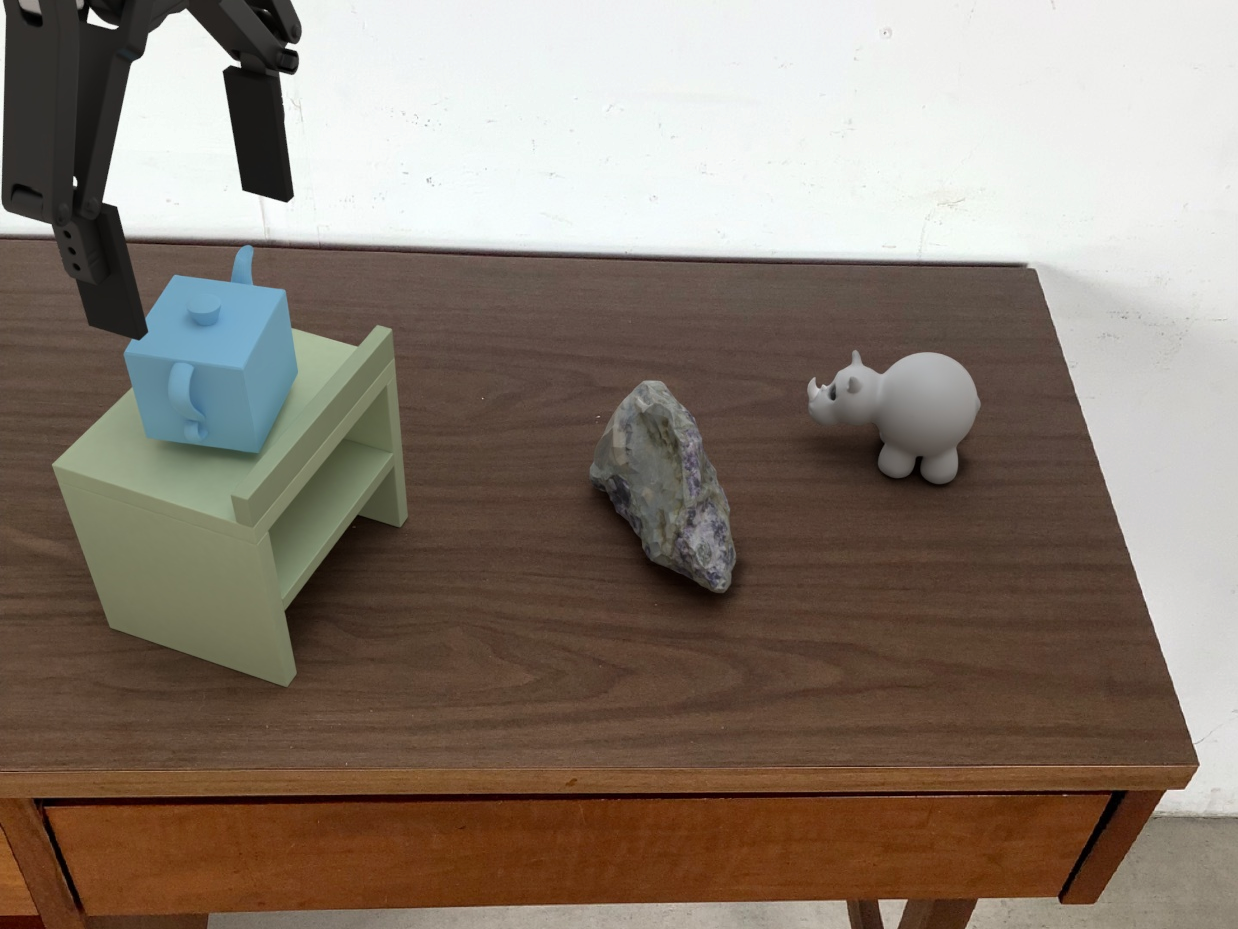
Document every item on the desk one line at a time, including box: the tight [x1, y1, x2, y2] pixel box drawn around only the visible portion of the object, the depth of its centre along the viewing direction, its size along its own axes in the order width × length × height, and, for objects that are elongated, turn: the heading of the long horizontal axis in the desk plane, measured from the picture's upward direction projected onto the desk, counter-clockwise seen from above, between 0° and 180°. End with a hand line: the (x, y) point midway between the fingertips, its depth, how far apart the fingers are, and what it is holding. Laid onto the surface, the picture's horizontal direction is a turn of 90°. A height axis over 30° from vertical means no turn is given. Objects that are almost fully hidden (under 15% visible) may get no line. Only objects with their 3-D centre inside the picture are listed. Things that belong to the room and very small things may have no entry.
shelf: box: [51, 324, 409, 688], centre depth 76 cm, size 12×16×15 cm
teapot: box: [122, 244, 298, 453], centre depth 69 cm, size 12×6×8 cm, turn 173°
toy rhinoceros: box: [806, 349, 982, 485], centre depth 90 cm, size 7×12×8 cm, turn 80°
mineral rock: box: [589, 380, 737, 594], centre depth 82 cm, size 13×11×10 cm
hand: (198, 257), depth 64 cm, fingers open, 13 cm apart
